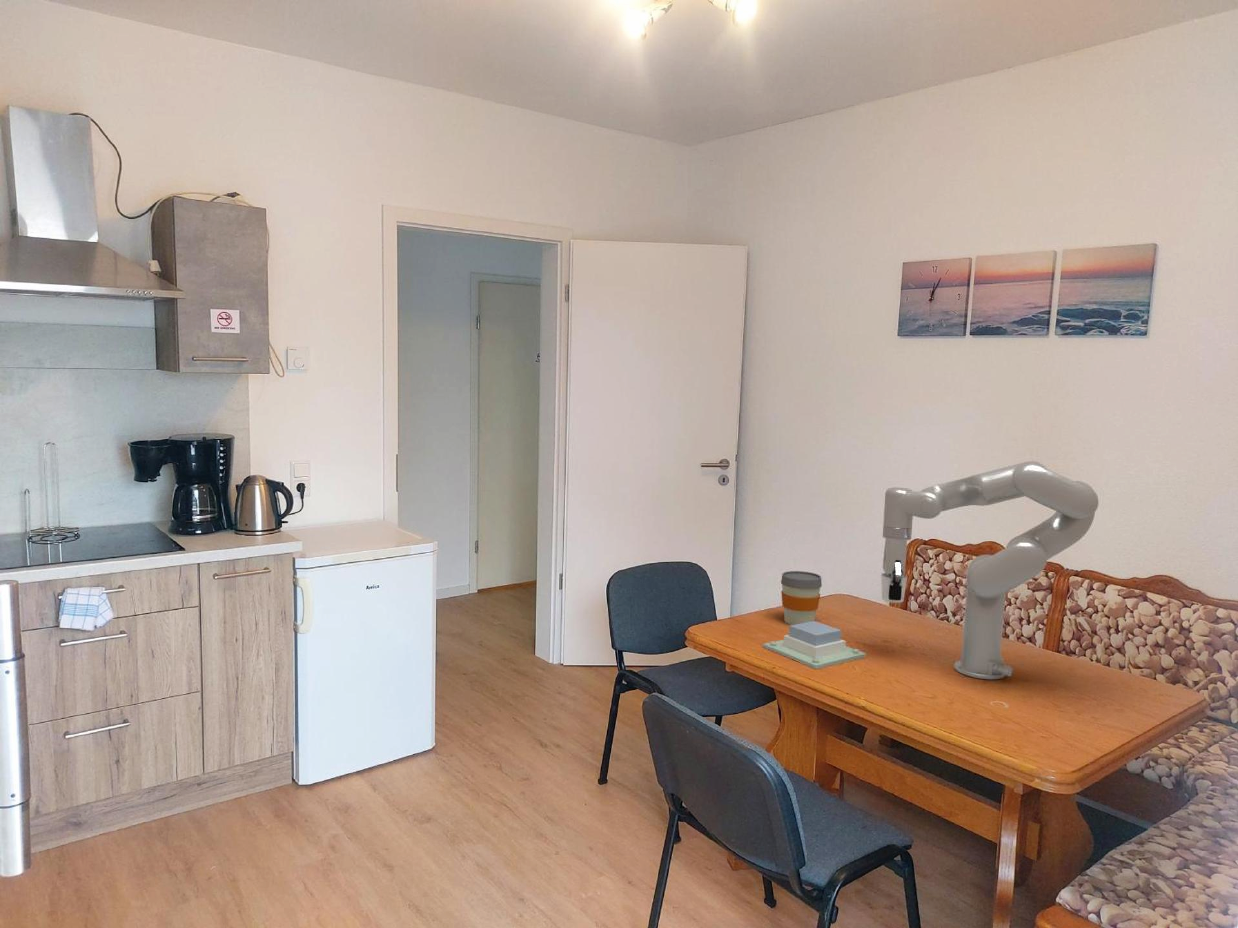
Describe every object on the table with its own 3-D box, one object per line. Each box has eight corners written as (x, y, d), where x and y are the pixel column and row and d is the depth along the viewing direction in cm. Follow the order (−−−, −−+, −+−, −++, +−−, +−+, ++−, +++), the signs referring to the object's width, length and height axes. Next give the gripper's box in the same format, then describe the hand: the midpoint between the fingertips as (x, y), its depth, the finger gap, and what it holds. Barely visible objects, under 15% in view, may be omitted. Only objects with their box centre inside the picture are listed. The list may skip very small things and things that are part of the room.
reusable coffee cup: (775, 624, 260) (777, 577, 258) (783, 614, 271) (785, 569, 269) (815, 630, 255) (818, 582, 253) (822, 619, 266) (825, 573, 265)
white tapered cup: (885, 595, 235) (887, 571, 234) (909, 599, 231) (911, 575, 230) (875, 599, 230) (877, 575, 229) (900, 604, 226) (901, 579, 225)
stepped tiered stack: (865, 656, 231) (867, 632, 230) (815, 669, 220) (817, 643, 219) (812, 636, 248) (813, 614, 247) (763, 647, 237) (764, 623, 236)
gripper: (879, 526, 238) (875, 587, 239) (886, 537, 221) (882, 603, 223) (906, 528, 236) (902, 589, 238) (916, 539, 219) (911, 605, 221)
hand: (893, 595), depth 230 cm, fingers closed on white tapered cup, 6 cm apart
